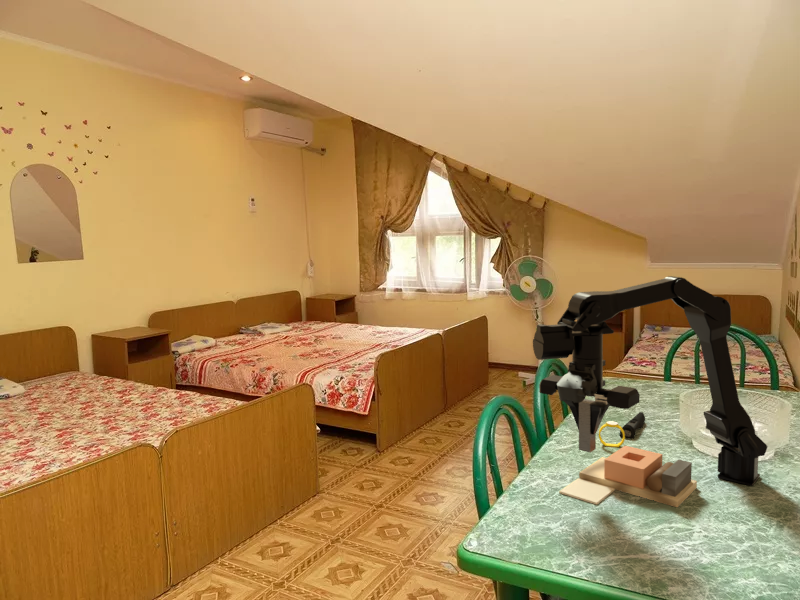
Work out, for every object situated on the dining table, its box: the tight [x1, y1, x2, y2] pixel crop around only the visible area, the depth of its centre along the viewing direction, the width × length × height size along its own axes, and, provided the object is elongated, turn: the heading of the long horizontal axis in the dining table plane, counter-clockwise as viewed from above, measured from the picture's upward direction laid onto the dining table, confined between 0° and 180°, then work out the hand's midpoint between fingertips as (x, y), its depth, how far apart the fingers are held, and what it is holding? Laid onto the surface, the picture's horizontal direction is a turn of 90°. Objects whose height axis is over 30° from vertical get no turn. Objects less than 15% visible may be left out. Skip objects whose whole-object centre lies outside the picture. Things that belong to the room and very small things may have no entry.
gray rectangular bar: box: [578, 398, 597, 453], centre depth 117 cm, size 2×2×10 cm
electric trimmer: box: [619, 411, 646, 440], centre depth 153 cm, size 4×16×3 cm, turn 144°
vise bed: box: [578, 456, 698, 508], centre depth 121 cm, size 20×11×6 cm, turn 46°
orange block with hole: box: [604, 445, 663, 489], centre depth 122 cm, size 8×10×4 cm
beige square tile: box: [559, 478, 616, 505], centre depth 119 cm, size 8×8×1 cm
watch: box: [598, 420, 626, 448], centre depth 142 cm, size 6×3×6 cm, turn 70°
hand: (587, 432), depth 117 cm, fingers closed on gray rectangular bar, 2 cm apart
